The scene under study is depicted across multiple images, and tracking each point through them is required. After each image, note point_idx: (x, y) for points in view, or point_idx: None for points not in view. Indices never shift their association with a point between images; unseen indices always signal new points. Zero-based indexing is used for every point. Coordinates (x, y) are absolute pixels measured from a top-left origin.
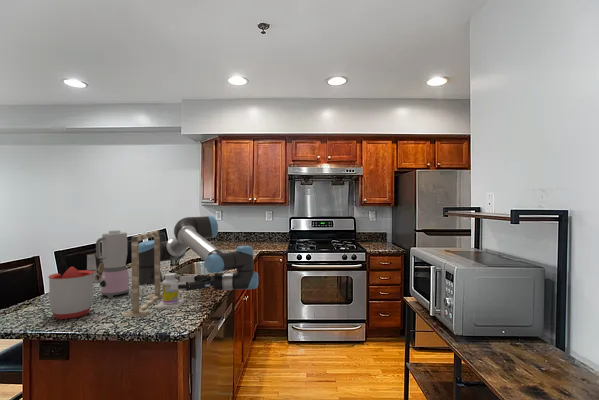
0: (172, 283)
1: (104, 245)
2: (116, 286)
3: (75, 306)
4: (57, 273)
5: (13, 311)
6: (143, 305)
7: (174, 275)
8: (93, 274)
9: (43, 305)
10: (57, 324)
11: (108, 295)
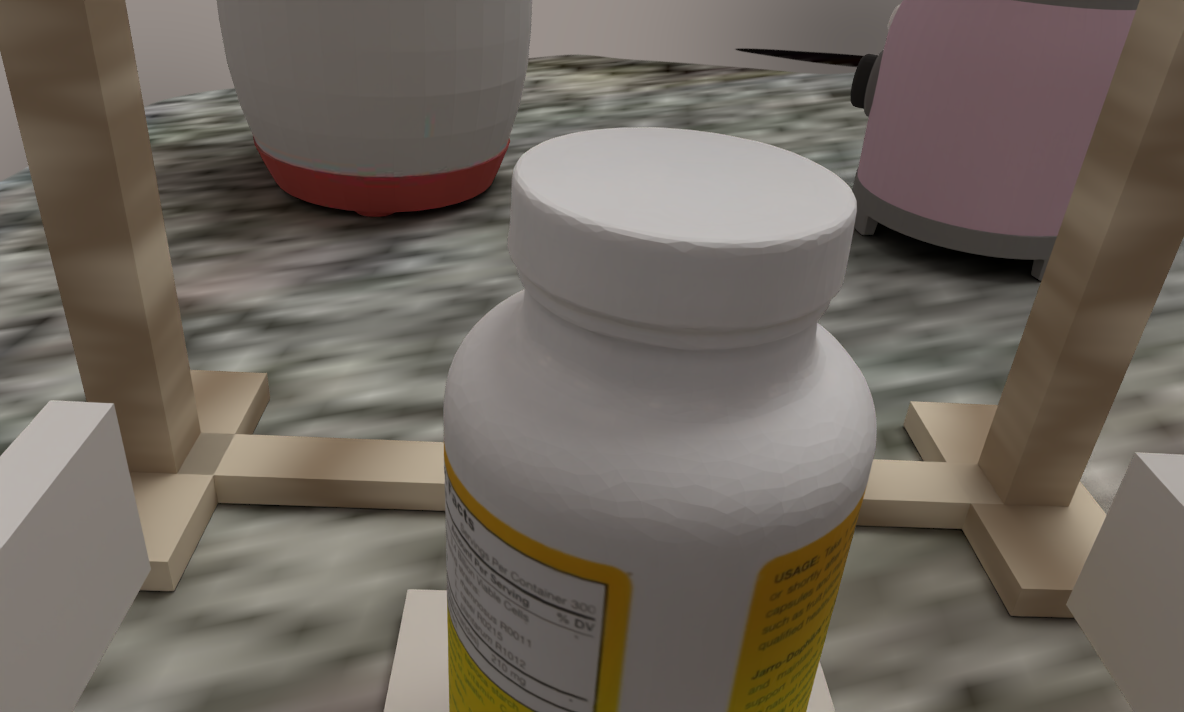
0: (16, 438)
1: None
2: (907, 148)
3: (246, 101)
4: None
5: (540, 66)
6: None
7: (620, 268)
8: None
9: (641, 95)
10: (177, 173)
11: None
